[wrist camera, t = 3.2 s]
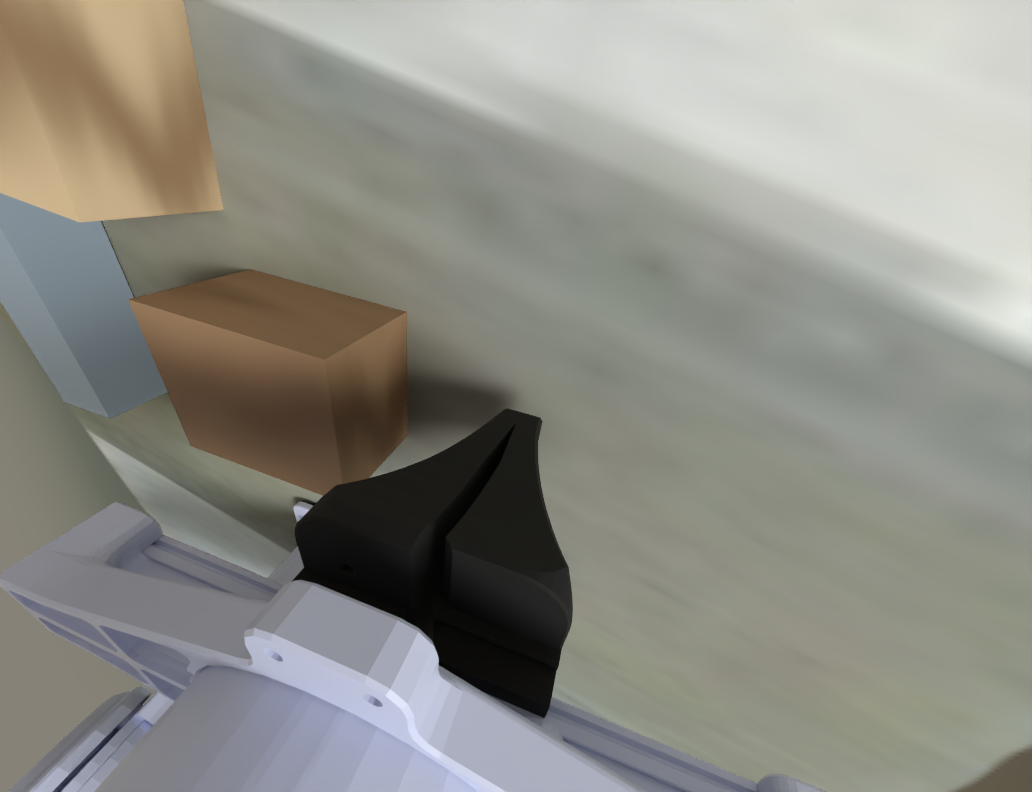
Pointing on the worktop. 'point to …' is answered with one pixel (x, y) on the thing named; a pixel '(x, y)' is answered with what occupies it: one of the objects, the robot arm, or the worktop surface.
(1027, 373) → the worktop surface
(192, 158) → the oak block
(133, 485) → the worktop surface
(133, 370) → the batten
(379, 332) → the walnut block
